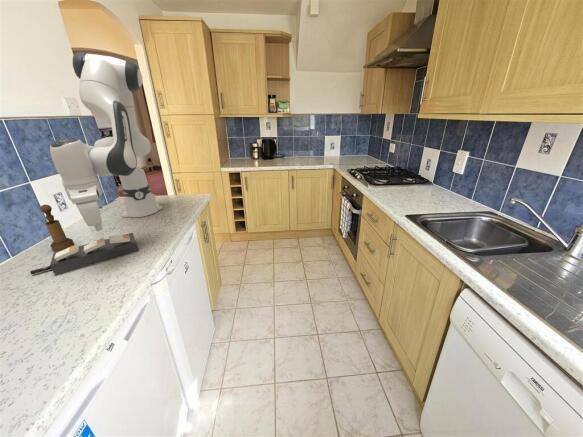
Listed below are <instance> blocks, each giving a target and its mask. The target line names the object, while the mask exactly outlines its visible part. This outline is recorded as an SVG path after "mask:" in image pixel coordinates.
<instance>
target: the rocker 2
mask: <svg viewBox="0 0 583 437" xmlns="http://www.w3.org/2000/svg"><path fill="white" fill-rule="evenodd" d="M108 237H109V238H108V239H109V240H110V243H120V242H130V237H129V235H126V234H123V235H109V236H108Z"/></svg>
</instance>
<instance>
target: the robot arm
mask: <svg viewBox="0 0 583 437" xmlns="http://www.w3.org/2000/svg"><path fill="white" fill-rule="evenodd" d="M72 68H73V70H74V74H75V75H76V76H77V78H78V79H79V89H78V90H79V91H78V92H79V99H80V101H81V103H82V104H83V105H84V107H85V108H86V109H87V110H89V111H90V112H92V113H93V114H94V115H97V116H99V117H101V118H105V120H106V121H107V122H108V124H110V126H111V132H112V136H106V137H103V138H100V139H98V140H96V141H95V142H94V145H89V144H87V143H84V142H82V141H81V139H79V138H77V137H75V138H74V137H73V138H71V137H69V138H64V139H58V140H55V141H53V142H52V143H50V145H49V151H50V156H51V160H52V163H53V165H54V167H55V170H56V171H57V174H59V175H60V178H61V179H62V180H61V182H62V183H61V184H62V186H63V189H64V191H65V193H66V196H67V198H68V200H70V201H71V202H72V205H76V208H77V209H78V211H79V214H80V215H81V217H82V219H83V220H84V222H85V224H86V225H87V226H88V227H94V229H95V231H97V232H100V231H103V225H102V223H103V220H102V216H101V209H100V204H99V200H100V199H101V196H102V195H103V190H102V188H101V185H100V182H99V179H98V177H97V176H118V177H119V180H120V182H121V186H122V193H123V196H124V198H123V200H122V201H121V202H122V206H123V207H124V208H123V212H122V216H121V217H123V218H142V217H143V218H144V217H147V216H150V215H153V214H155V213H157V212H159V211H161V210H162V209H163V206H162V205H160V204H158V200H157V197H156V194H154V193H152V190H151V187H150V185H149V182H148V180H147V179H148V178H147V176H146V173H145V171H144V169H143V168H141V167H138V158H142V157H145V156H146V155H148V154H150V153H151V151H152V145H151V142H150V141H149V139H148V137H145V135H143V133H141V130H140V129H139V127H138V124H137V120H136V113H135V112H136V111H135V105H134V96H133V94H134V93H135V92H137V91H139V90H140V89H141V88H142V84H143V75H142V72H141V69H140V67H139V66H138V65H137V64H136V63H135V62H132V61H129V60H124V59H121V58H118V57H114V56H110V55H104V54H95V53H88V52H85V51H79V52H76V53H75V54H73V56H72Z"/></svg>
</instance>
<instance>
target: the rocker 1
mask: <svg viewBox="0 0 583 437" xmlns="http://www.w3.org/2000/svg"><path fill="white" fill-rule="evenodd" d="M78 246H79V245H78V244H74V246H71V247H69V248H67V249H65V250H62V251H60V252H58V253H56V254H55V258H54V259H55V260H56V261H58V260H60V259H63V258H65V257H67V256H69V255H72V254H74V253H76V252H78V249H79V247H78Z"/></svg>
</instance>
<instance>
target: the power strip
mask: <svg viewBox="0 0 583 437" xmlns="http://www.w3.org/2000/svg"><path fill="white" fill-rule="evenodd" d="M125 235H129V237H130V242H120V243H110V240H109V238H105V239H104V240H105V245H103V246H101V247H99V248H97V249H94V250H92V251H90V252H88V253H85V252H84V246H85V245H88V244H89V243H87V244H83V245H78V247H79V249H78V252H76V253H74V254H72V255H69V256H67V257H65V258H63V259H60V260H58V261H56V260H55V259H54V258H55V254H56V253H58V252H60V251H58V252H54V251H53V253H52V254H53V255H52V257H51V261H50V264H49V265H48V266H45V267H40V268H37V269H33V270H30V271H29V272H30V273H29V274H31V275H35V274H39V273H42V272H46V271H49V270H52V273H53V274H54V276H58V275H61V274H64V273H65V274H66V273H69V272H72V271H76V270H79V269H83V268H86V267H89V266H93V265H97V264H99V263H102V262H103V263H104V262H107V261H111V260H112V259H117V258H120V257H121V258H122V257H124V256H127V255H131V254H134V253H138V252H139V248H138V244H137V242H136V238H135V235H134V233H133V232H129V233H127V234H125Z"/></svg>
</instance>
